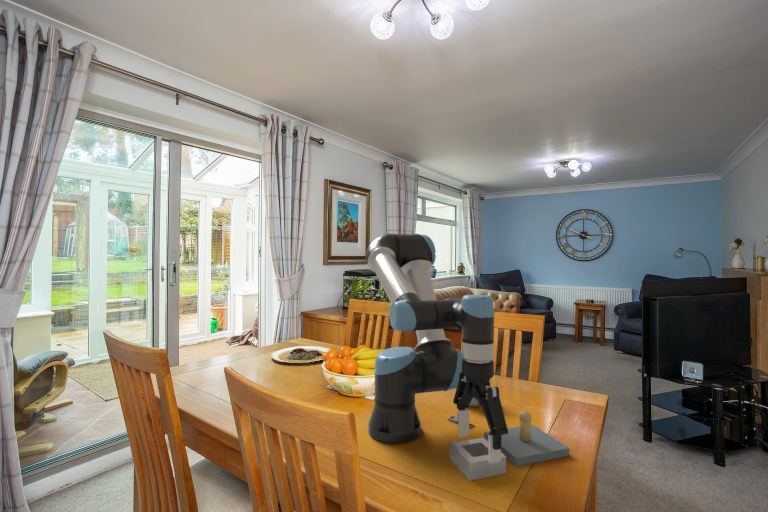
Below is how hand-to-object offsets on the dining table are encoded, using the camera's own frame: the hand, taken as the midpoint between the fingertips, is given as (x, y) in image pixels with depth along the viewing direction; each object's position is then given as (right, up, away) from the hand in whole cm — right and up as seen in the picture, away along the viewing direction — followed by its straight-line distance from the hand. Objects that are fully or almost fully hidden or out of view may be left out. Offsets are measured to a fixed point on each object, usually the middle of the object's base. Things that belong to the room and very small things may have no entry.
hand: (478, 447), depth 92 cm
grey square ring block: (0, -5, 0) cm, 5 cm away
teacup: (+8, -5, +41) cm, 42 cm away
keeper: (+15, -5, +10) cm, 18 cm away
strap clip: (+1, -5, +24) cm, 24 cm away
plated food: (-63, -4, +97) cm, 116 cm away
